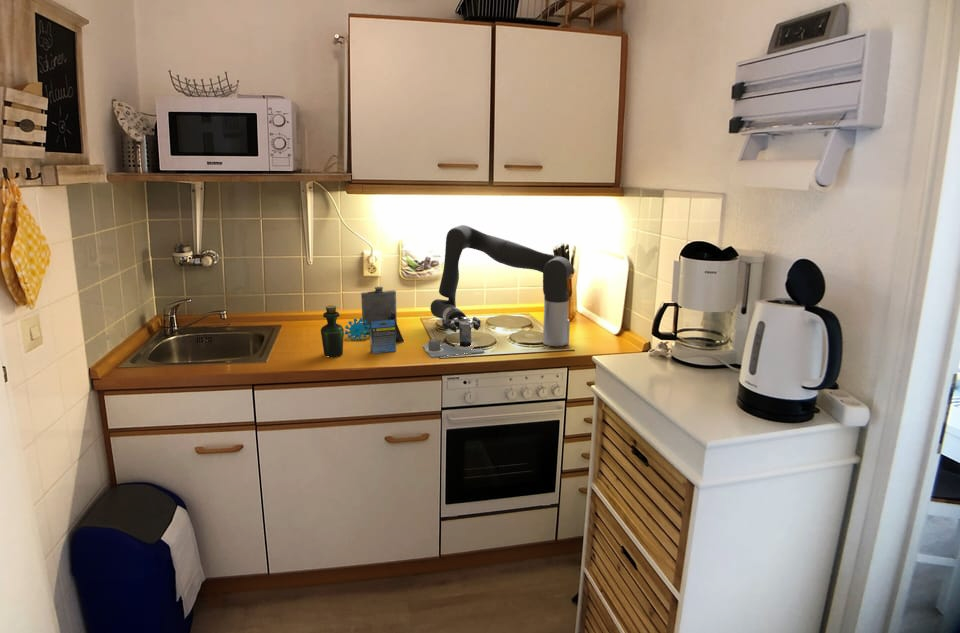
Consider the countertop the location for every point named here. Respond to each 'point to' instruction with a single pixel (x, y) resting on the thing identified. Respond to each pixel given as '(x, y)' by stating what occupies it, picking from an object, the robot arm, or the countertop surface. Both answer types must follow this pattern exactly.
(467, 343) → the steel pin
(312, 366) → the countertop surface
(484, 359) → the countertop surface
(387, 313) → the door stopper
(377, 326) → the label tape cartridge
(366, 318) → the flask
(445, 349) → the plate
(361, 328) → the blue virus model
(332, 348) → the potion bottle
